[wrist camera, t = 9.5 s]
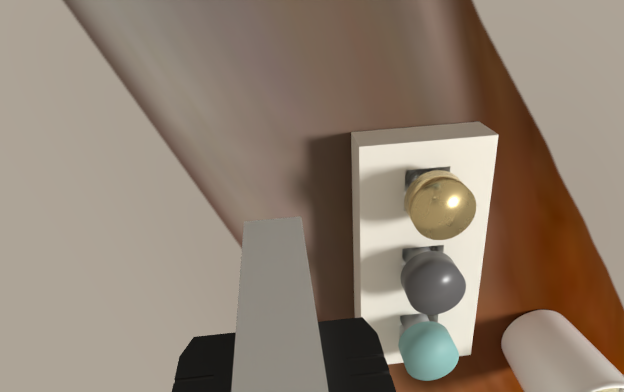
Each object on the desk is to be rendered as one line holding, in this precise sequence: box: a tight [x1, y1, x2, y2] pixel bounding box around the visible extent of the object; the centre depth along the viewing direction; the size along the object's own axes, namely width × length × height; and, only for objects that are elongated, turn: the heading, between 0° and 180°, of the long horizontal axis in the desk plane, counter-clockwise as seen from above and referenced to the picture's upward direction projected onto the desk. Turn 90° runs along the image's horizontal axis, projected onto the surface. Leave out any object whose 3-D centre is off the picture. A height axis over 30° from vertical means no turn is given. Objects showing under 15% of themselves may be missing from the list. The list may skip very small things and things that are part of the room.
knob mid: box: [400, 246, 466, 315], centre depth 44 cm, size 5×5×7 cm
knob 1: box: [404, 168, 476, 240], centre depth 40 cm, size 5×5×7 cm
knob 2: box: [398, 313, 459, 381], centre depth 47 cm, size 5×5×7 cm
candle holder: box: [501, 310, 624, 392], centre depth 50 cm, size 10×10×12 cm
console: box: [351, 122, 498, 364], centre depth 46 cm, size 25×12×4 cm, turn 3°
